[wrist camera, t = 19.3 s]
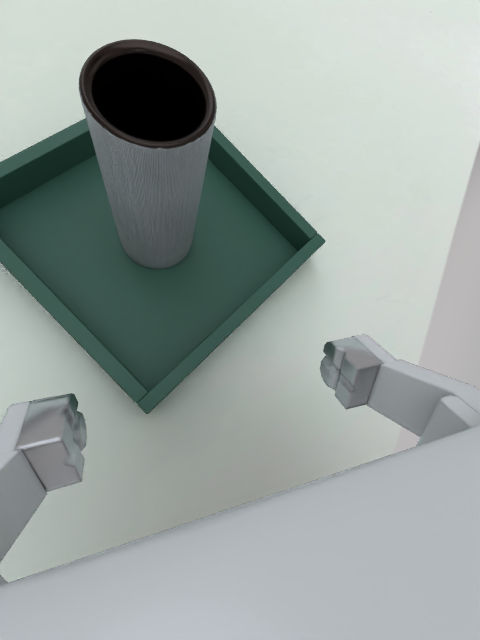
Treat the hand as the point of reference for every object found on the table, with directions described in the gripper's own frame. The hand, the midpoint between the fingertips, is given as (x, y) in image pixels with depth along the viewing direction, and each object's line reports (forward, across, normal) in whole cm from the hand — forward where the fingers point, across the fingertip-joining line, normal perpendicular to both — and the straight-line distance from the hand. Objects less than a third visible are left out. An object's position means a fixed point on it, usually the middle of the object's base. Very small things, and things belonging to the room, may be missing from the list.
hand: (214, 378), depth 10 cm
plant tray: (+14, 0, 0) cm, 14 cm away
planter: (+13, 0, 0) cm, 13 cm away
